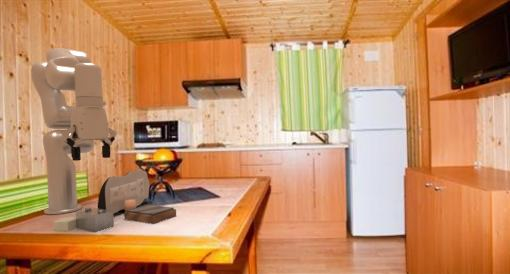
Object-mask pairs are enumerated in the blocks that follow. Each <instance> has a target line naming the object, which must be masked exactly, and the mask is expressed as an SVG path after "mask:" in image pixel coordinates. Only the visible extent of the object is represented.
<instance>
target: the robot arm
mask: <svg viewBox="0 0 510 274" xmlns="http://www.w3.org/2000/svg"><path fill="white" fill-rule="evenodd" d="M45 58H46V59H45V60H46V61H37V62H34V63H33V64H32V66H31V69H30V73H31V75H30V76H31V80H32V84H33V86H34V88H35V90H36V93H37V94H38V96H39V98H40V103H41V110H42V115H43V117H42V118H43V121H44V124H45V126H46V127H47V128H48V129H51V130H50V131H47V132H45V134H44V135H43V136H42V145H43V150H44V153H45V154H44V155H45V159H46V160H45V161H46V162H45V163H46V174H47V175H46V178H47V198H48V199H47V201H46V204H47V205H48V207H47V208H45V209H44V210H43V214H45V215H61V214H67V213H68V214H69V213H73V212H78V211H80V210H81V209H82V208H83V205H82V204H80V203H78V194H77V193H78V191H77V170H76V167H77V166H76V164H75V163H76V161H79V162H80V161H81V160H82V158H81V157H82V156H81V154H83V153H89V152H92V151H93V149H94V148H95V141H100V142H101V143H102V144H103V145H101V154H102V155H101V156H102V158H103V159H107V158H111V146H112V144H113V143H114V141H115V140H116V136H117V131H116V130H114V129H112V128H111V127H109V121H108V116H107V111H106V108H104V107H105V106H106V104H107V102H106V101H104V99H103V80H102V79H103V78H102V76H103V75H102V68H101V67H100V65H98V64H97V63H92V62H91V58H90V56H89V54H88V53H86V52H85V51H82V50H78V49H77V50H76V49H72V48H71V49H69V48H63V47H55V48H51V49H49V50H48V51H47V53H46V55H45ZM62 91H73V92H74V95H75V96H74V99H75V100H74V101H75V102H74V103H75V105H68V104H67V100H66V95H65V94H64V93H63V92H62ZM69 155H71V157H70V156H69ZM74 161H75V162H74Z"/></svg>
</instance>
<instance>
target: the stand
mask: <svg viewBox="0 0 510 274" xmlns="http://www.w3.org/2000/svg"><path fill="white" fill-rule="evenodd" d="M123 212H124V213H123V216H124V217H123V220H125V219H127V220H126V221H132V220H133V221H132V222H138V221H139V223H144V222H145V224H150V223H151V224H152V225H154V224H157V223H161V222H164V221H165V220H166V219H167V220H169V219H172V218H174V217H177V209H176V208H174V207H171V206H165V205H164V206H163V205H155V204H154V205H153V204H145V205H144V204H143V205H139V206H136V208H133V209H129V210H126V212H125V211H123ZM163 220H164V221H163ZM160 221H161V222H160Z"/></svg>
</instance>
